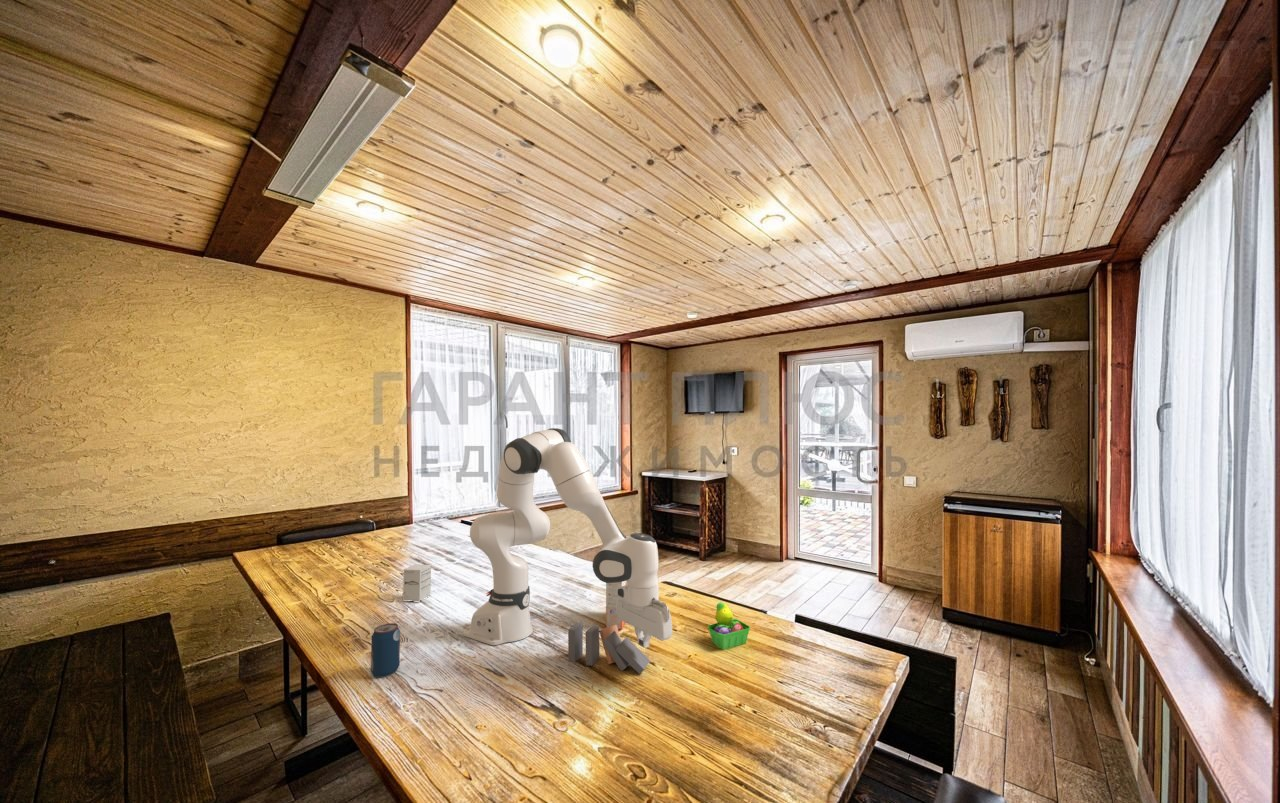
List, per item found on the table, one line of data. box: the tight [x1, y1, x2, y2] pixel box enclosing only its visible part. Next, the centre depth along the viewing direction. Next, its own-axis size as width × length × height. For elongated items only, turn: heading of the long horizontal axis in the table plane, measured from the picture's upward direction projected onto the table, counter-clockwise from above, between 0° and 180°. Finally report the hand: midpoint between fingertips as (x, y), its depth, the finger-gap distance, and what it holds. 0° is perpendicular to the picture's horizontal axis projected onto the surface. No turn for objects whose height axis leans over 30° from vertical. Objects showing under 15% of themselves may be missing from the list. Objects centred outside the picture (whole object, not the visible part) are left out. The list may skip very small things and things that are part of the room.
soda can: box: [370, 622, 401, 679], centre depth 128 cm, size 7×7×12 cm
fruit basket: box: [707, 602, 751, 651], centre depth 143 cm, size 11×9×11 cm
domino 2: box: [585, 624, 601, 667], centre depth 133 cm, size 2×5×9 cm, turn 161°
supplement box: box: [402, 563, 432, 601], centre depth 183 cm, size 7×7×13 cm
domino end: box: [616, 636, 651, 675], centre depth 128 cm, size 2×5×9 cm
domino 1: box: [567, 622, 584, 664], centre depth 135 cm, size 2×5×9 cm, turn 160°
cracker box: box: [605, 581, 627, 630], centre depth 161 cm, size 14×6×21 cm, turn 168°
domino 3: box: [599, 625, 622, 665], centre depth 134 cm, size 2×5×9 cm
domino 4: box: [602, 631, 630, 672], centre depth 130 cm, size 2×5×9 cm
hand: (643, 645), depth 128 cm, fingers closed
